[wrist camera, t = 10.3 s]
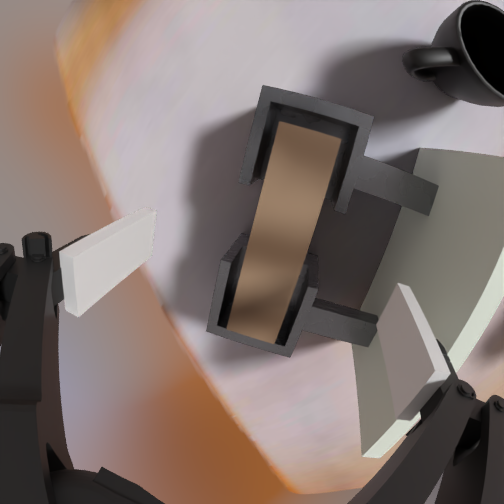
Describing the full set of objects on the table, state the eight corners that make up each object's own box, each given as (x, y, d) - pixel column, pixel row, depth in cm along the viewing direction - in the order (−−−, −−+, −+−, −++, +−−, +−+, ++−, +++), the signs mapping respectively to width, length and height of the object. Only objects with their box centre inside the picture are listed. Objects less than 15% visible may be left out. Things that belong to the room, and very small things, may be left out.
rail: (286, 126, 22) (279, 121, 17) (335, 140, 22) (341, 139, 17) (240, 299, 28) (226, 329, 23) (281, 312, 28) (274, 344, 23)
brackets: (275, 99, 24) (262, 85, 18) (419, 147, 23) (452, 150, 16) (227, 294, 32) (206, 331, 25) (349, 330, 30) (355, 373, 24)
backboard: (419, 147, 23) (529, 161, 8) (433, 153, 23) (547, 175, 8) (349, 330, 30) (361, 456, 16) (362, 333, 30) (379, 458, 16)
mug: (365, 40, 20) (388, -4, 11) (467, 33, 17) (514, 5, 8) (395, 122, 23) (435, 113, 14) (493, 108, 19) (551, 104, 10)
